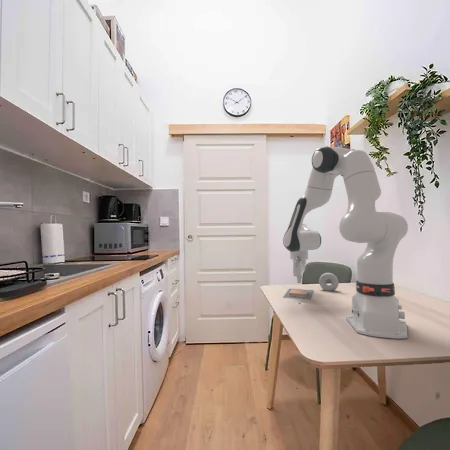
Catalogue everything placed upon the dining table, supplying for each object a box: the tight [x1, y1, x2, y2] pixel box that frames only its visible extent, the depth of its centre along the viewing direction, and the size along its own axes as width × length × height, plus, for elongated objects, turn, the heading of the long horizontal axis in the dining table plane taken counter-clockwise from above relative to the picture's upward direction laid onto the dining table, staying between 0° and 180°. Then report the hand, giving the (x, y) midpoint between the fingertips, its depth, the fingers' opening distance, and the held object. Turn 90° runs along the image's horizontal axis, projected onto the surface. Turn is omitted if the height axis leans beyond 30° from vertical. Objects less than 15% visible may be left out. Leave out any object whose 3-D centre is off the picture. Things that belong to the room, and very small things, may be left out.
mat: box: [282, 288, 315, 301], centre depth 142 cm, size 22×13×1 cm, turn 159°
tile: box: [289, 289, 307, 297], centre depth 140 cm, size 2×8×8 cm
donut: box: [318, 272, 340, 292], centre depth 150 cm, size 10×4×10 cm, turn 60°
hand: (299, 282), depth 143 cm, fingers closed
